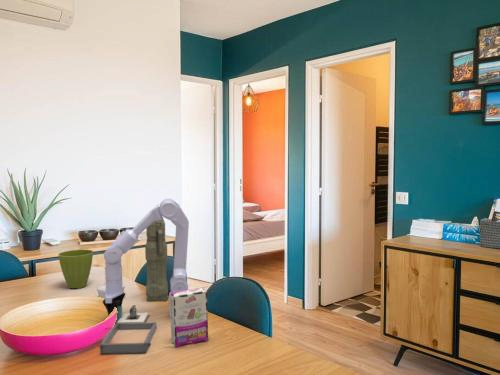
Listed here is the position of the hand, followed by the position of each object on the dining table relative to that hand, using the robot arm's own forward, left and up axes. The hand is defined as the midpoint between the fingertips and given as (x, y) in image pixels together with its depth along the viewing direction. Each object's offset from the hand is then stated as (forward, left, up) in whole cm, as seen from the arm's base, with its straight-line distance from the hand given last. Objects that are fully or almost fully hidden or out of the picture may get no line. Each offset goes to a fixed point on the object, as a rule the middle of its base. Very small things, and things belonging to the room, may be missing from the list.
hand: (114, 316), depth 153 cm
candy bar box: (-28, +17, -3) cm, 33 cm away
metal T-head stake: (-6, 0, -1) cm, 7 cm away
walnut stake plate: (-4, +1, -2) cm, 5 cm away
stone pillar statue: (-10, -25, -3) cm, 27 cm away
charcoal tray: (-10, +16, -2) cm, 19 cm away
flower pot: (+30, -46, -3) cm, 55 cm away
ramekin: (+10, -28, -3) cm, 30 cm away
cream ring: (-5, 0, -1) cm, 5 cm away
